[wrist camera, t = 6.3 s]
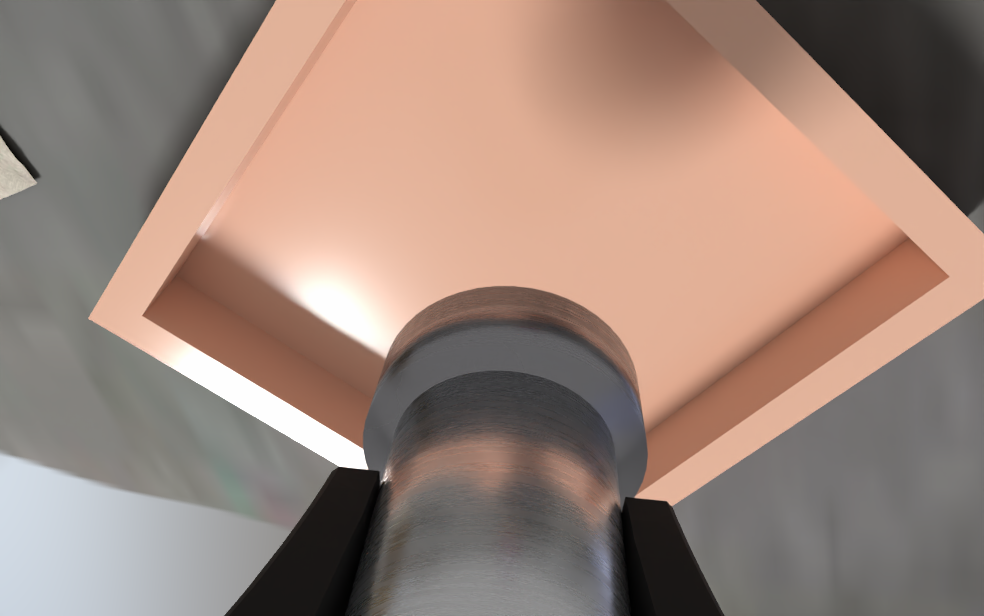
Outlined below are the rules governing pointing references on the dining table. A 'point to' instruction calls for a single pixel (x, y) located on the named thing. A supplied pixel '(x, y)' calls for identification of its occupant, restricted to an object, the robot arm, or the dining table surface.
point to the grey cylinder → (501, 462)
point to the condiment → (12, 173)
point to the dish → (543, 214)
